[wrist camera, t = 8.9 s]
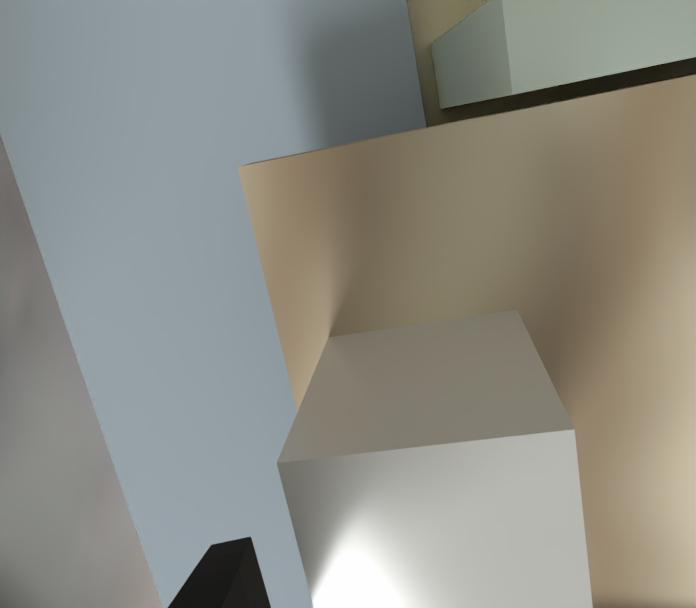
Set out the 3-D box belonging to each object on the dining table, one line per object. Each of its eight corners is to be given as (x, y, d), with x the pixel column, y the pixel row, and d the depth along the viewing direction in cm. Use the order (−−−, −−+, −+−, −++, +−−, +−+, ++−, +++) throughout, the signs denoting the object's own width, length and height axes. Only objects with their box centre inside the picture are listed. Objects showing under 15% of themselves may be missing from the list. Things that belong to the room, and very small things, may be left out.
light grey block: (538, 478, 14) (598, 671, 9) (362, 495, 14) (333, 685, 10) (516, 309, 13) (574, 428, 8) (328, 337, 13) (276, 462, 9)
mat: (504, 636, 21) (507, 646, 20) (200, 701, 21) (198, 711, 20) (389, -88, 15) (391, -94, 14) (-38, 0, 15) (-48, -4, 14)
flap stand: (736, -41, 16) (987, -144, 10) (747, 520, 20) (923, 676, 14) (427, 23, 16) (497, -43, 10) (508, 570, 20) (589, 746, 14)
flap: (863, 35, 14) (1043, 4, 10) (849, 484, 17) (980, 597, 13) (283, 153, 16) (237, 167, 12) (366, 529, 20) (352, 638, 16)
